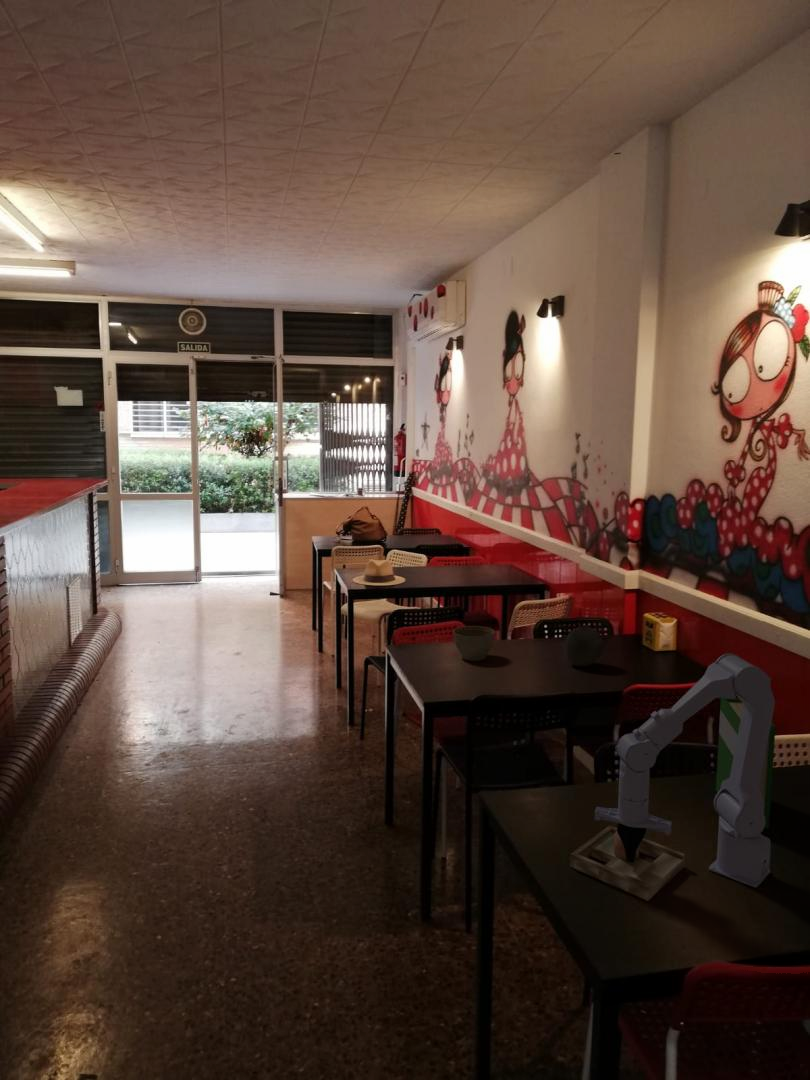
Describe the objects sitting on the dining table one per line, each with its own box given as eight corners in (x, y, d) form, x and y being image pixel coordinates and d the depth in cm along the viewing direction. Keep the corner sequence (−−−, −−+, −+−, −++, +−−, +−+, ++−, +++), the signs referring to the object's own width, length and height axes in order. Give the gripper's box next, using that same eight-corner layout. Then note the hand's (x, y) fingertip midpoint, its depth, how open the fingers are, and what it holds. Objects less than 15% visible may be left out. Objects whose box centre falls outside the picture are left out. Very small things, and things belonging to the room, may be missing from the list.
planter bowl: (450, 652, 312) (450, 626, 310) (489, 651, 313) (489, 625, 312) (457, 664, 296) (457, 637, 294) (498, 663, 298) (498, 635, 296)
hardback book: (768, 828, 173) (775, 726, 170) (733, 826, 175) (739, 724, 171) (747, 792, 191) (753, 699, 187) (715, 790, 192) (720, 697, 188)
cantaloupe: (574, 673, 285) (575, 633, 283) (558, 662, 299) (559, 624, 297) (609, 670, 288) (610, 631, 286) (591, 659, 302) (592, 621, 300)
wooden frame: (684, 866, 158) (685, 854, 158) (647, 901, 147) (648, 887, 146) (609, 837, 170) (609, 825, 170) (570, 866, 158) (570, 853, 158)
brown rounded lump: (644, 856, 158) (645, 838, 158) (627, 863, 156) (627, 844, 155) (625, 845, 163) (626, 827, 162) (608, 852, 160) (609, 833, 160)
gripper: (674, 793, 153) (671, 857, 155) (600, 780, 160) (598, 841, 161) (670, 809, 147) (667, 876, 149) (593, 794, 153) (591, 858, 155)
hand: (630, 859), depth 155 cm, fingers closed
